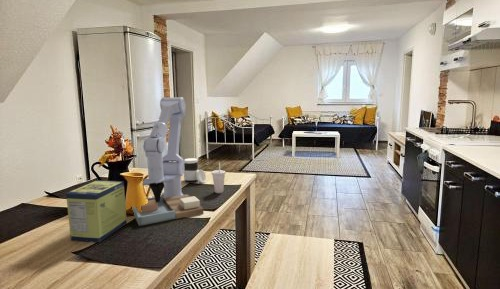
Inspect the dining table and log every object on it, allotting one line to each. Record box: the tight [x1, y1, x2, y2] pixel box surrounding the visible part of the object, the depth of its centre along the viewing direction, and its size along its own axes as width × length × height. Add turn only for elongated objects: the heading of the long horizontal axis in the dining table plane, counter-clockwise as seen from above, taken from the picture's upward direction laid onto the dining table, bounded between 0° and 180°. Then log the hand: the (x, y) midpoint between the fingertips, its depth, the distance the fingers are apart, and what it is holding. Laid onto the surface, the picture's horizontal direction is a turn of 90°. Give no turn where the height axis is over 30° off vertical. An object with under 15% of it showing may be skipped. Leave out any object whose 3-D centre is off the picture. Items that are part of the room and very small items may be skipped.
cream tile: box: [180, 196, 201, 209], centre depth 123 cm, size 6×6×2 cm
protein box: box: [65, 179, 128, 243], centre depth 104 cm, size 10×16×16 cm
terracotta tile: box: [141, 200, 158, 213], centre depth 124 cm, size 6×6×2 cm
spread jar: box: [183, 157, 207, 184], centre depth 164 cm, size 12×11×12 cm
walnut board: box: [163, 193, 204, 220], centre depth 126 cm, size 20×10×2 cm, turn 28°
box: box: [133, 195, 176, 227], centre depth 121 cm, size 20×13×3 cm, turn 28°
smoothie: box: [211, 162, 226, 194], centre depth 145 cm, size 6×6×14 cm
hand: (157, 201), depth 126 cm, fingers closed
